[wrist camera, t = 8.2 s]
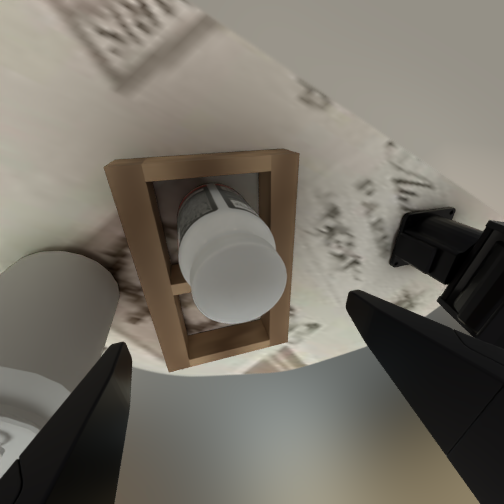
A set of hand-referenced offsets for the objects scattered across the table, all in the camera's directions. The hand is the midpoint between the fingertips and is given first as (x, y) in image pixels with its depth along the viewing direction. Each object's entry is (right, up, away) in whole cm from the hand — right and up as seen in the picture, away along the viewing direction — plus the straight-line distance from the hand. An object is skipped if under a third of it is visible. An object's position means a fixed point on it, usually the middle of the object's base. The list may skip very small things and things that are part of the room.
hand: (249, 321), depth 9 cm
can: (-15, 0, +10) cm, 18 cm away
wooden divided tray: (-3, +2, +12) cm, 13 cm away
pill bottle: (-3, +6, +10) cm, 12 cm away
